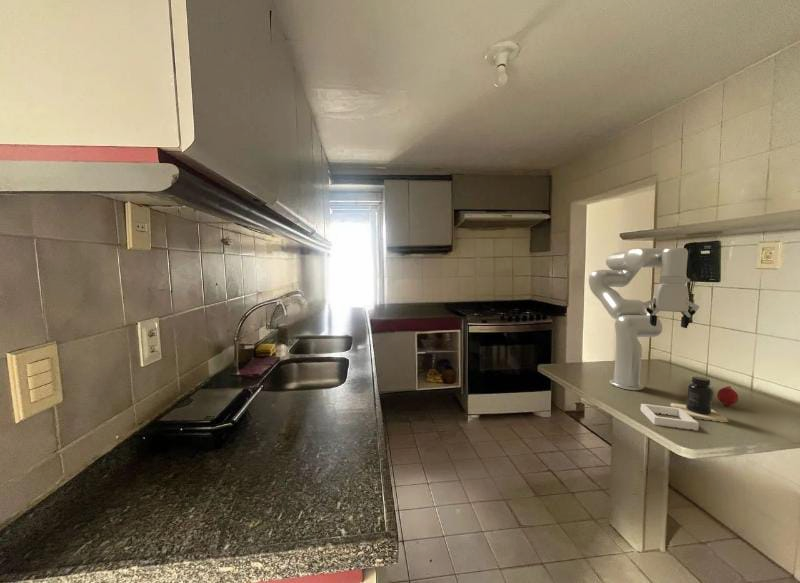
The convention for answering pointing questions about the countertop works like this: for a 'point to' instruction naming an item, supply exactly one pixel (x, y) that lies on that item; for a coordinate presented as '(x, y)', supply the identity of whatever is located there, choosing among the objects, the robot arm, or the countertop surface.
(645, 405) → the white square frame
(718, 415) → the board
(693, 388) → the supplement bottle
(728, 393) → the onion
